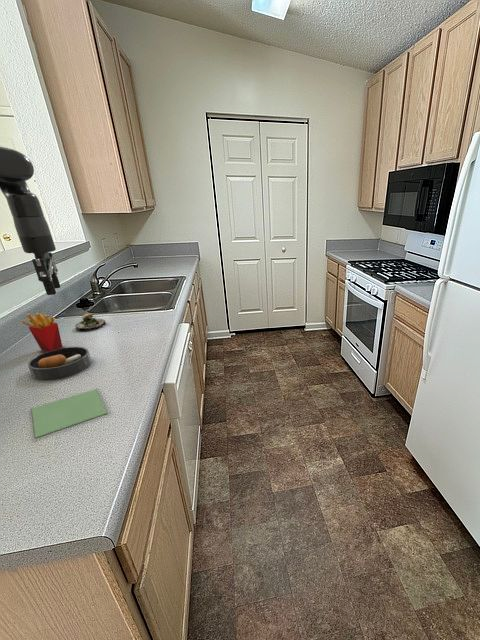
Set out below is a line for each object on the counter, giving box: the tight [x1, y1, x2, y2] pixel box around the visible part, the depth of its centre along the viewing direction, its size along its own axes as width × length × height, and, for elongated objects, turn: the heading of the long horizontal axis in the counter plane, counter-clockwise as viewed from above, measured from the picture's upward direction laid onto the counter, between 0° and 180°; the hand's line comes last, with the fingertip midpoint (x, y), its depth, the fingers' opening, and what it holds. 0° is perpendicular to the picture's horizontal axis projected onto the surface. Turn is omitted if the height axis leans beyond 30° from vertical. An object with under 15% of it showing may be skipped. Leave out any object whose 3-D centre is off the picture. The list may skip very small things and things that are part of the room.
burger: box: [75, 313, 107, 332], centre depth 148 cm, size 12×12×8 cm
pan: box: [27, 346, 93, 381], centre depth 113 cm, size 17×17×4 cm
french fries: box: [20, 312, 63, 352], centre depth 124 cm, size 9×8×15 cm
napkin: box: [31, 388, 108, 439], centre depth 91 cm, size 16×16×1 cm
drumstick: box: [38, 354, 81, 368], centre depth 114 cm, size 12×4×4 cm, turn 129°
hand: (54, 291), depth 100 cm, fingers open, 8 cm apart
